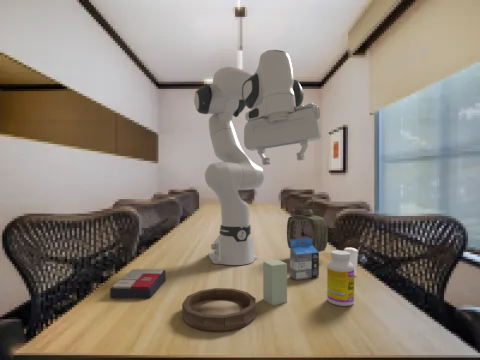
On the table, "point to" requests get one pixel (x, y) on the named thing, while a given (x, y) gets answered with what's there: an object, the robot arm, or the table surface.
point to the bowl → (219, 309)
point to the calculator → (138, 284)
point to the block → (275, 282)
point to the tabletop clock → (308, 228)
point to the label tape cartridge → (303, 259)
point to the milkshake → (353, 257)
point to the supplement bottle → (340, 279)
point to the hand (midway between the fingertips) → (283, 162)
